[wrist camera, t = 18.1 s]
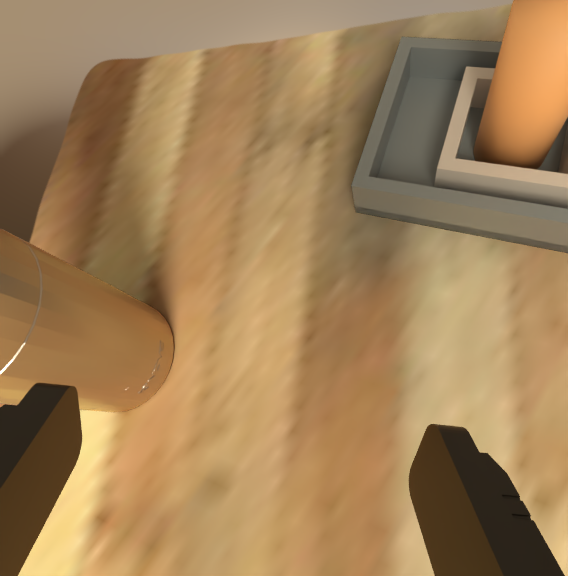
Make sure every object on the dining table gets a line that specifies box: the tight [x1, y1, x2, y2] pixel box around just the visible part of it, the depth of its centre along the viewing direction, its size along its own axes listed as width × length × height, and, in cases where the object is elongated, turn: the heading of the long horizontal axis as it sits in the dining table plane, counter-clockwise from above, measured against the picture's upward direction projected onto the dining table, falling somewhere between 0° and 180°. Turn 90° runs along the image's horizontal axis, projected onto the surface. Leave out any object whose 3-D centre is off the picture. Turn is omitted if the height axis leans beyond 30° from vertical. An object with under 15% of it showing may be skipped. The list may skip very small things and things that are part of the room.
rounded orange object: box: [473, 0, 568, 170], centre depth 26 cm, size 5×5×12 cm
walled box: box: [351, 37, 568, 253], centre depth 31 cm, size 20×14×4 cm
